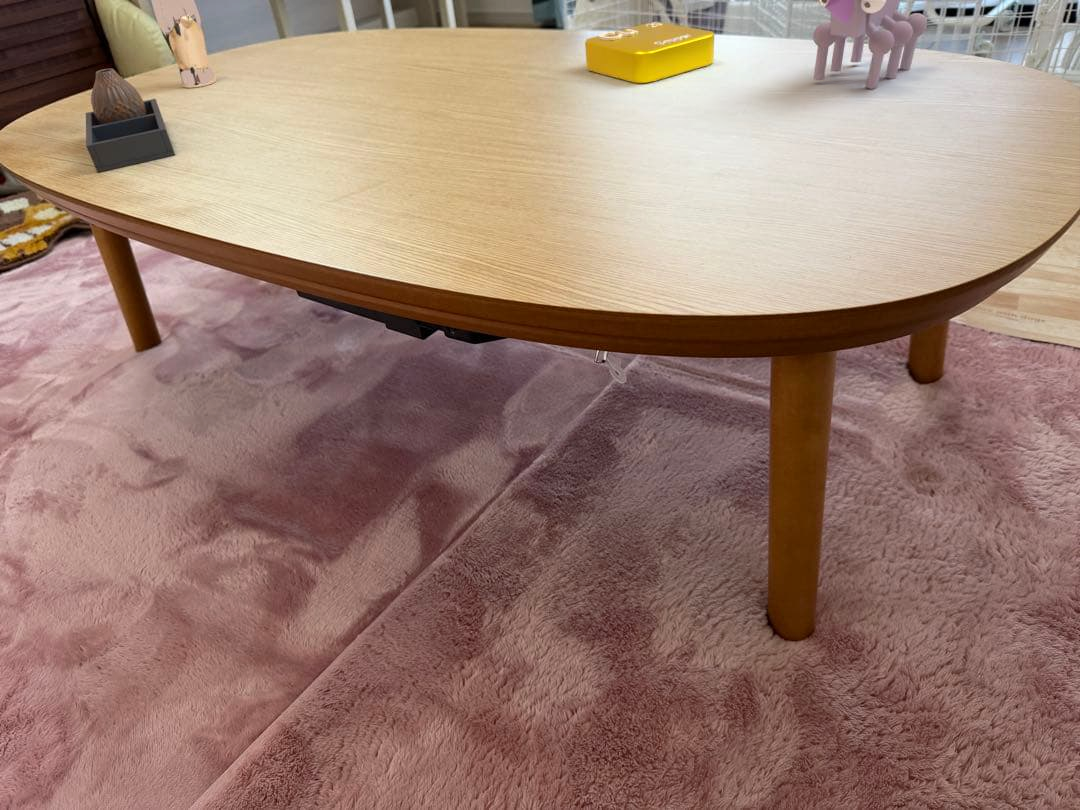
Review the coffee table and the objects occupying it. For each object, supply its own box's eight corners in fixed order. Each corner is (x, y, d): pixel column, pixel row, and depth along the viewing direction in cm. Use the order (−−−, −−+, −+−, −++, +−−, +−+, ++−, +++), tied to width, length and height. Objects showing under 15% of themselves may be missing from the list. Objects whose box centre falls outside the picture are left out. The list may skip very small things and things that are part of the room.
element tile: (641, 85, 116) (641, 50, 113) (581, 69, 126) (579, 36, 124) (719, 62, 122) (720, 28, 119) (655, 49, 132) (655, 17, 129)
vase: (157, 131, 119) (134, 68, 114) (109, 143, 116) (83, 80, 111) (147, 121, 124) (124, 61, 118) (100, 133, 121) (75, 72, 116)
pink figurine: (852, 109, 99) (867, -14, 90) (774, 98, 105) (783, -17, 97) (924, 68, 109) (944, -45, 101) (850, 60, 116) (863, -47, 108)
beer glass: (178, 83, 146) (147, -8, 138) (217, 75, 148) (189, -15, 139) (181, 91, 141) (148, -3, 132) (221, 83, 143) (192, -11, 134)
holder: (97, 172, 108) (86, 146, 106) (95, 136, 123) (85, 112, 120) (175, 155, 111) (165, 128, 109) (164, 122, 126) (155, 98, 123)
